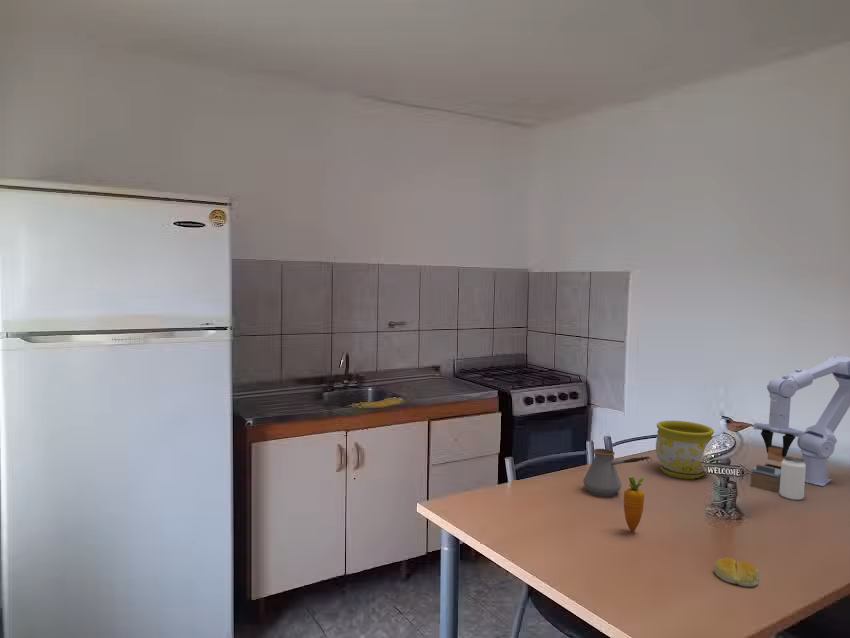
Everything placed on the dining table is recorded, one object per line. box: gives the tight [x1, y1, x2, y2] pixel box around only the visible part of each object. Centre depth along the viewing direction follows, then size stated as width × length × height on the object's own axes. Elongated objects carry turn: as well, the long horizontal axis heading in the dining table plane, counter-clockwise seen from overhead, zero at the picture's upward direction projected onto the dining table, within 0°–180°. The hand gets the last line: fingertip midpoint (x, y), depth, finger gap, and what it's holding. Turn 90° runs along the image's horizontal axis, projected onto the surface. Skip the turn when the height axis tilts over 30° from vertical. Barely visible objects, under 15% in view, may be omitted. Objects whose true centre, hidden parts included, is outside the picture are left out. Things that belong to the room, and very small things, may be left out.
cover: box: [751, 464, 781, 477], centre depth 194 cm, size 7×8×2 cm
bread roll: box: [713, 556, 760, 588], centre depth 133 cm, size 8×9×4 cm
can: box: [778, 455, 806, 501], centre depth 185 cm, size 6×6×12 cm
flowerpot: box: [655, 420, 715, 480], centre depth 205 cm, size 18×18×16 cm
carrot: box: [623, 475, 645, 533], centre depth 155 cm, size 5×5×15 cm
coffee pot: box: [582, 448, 653, 497], centre depth 181 cm, size 21×12×15 cm, turn 40°
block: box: [767, 444, 784, 463], centre depth 198 cm, size 4×4×4 cm
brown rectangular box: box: [750, 463, 781, 493], centre depth 197 cm, size 14×8×5 cm, turn 133°
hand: (776, 454), depth 198 cm, fingers closed on block, 4 cm apart
